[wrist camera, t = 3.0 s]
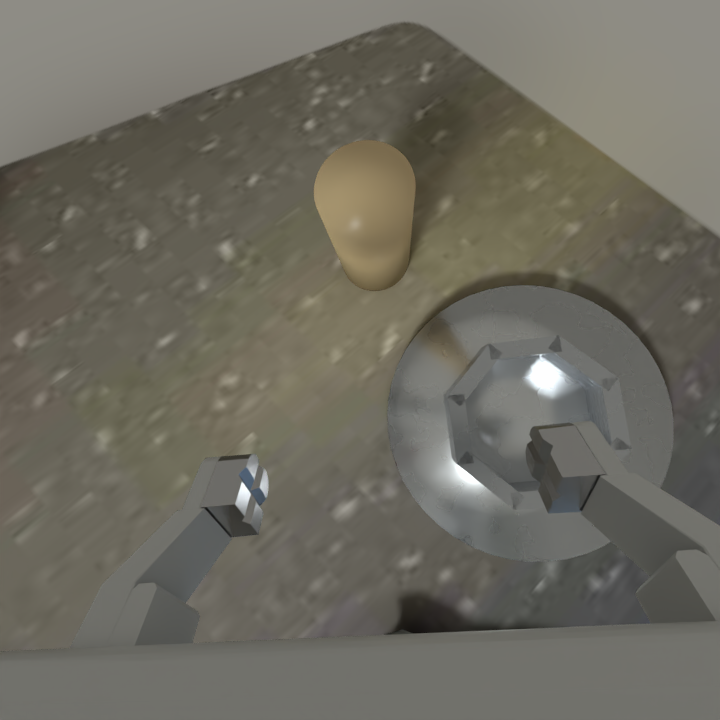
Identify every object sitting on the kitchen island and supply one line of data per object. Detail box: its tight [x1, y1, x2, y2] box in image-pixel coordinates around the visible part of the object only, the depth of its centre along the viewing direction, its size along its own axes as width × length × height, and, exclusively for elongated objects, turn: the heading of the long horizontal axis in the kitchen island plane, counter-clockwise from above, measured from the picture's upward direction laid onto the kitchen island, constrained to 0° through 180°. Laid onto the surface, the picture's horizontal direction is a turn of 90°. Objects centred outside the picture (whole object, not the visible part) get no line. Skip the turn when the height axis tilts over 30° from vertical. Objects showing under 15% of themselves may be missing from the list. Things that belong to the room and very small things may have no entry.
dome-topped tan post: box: [314, 140, 416, 291], centre depth 21 cm, size 5×5×9 cm
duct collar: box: [387, 285, 674, 562], centre depth 22 cm, size 18×18×3 cm
